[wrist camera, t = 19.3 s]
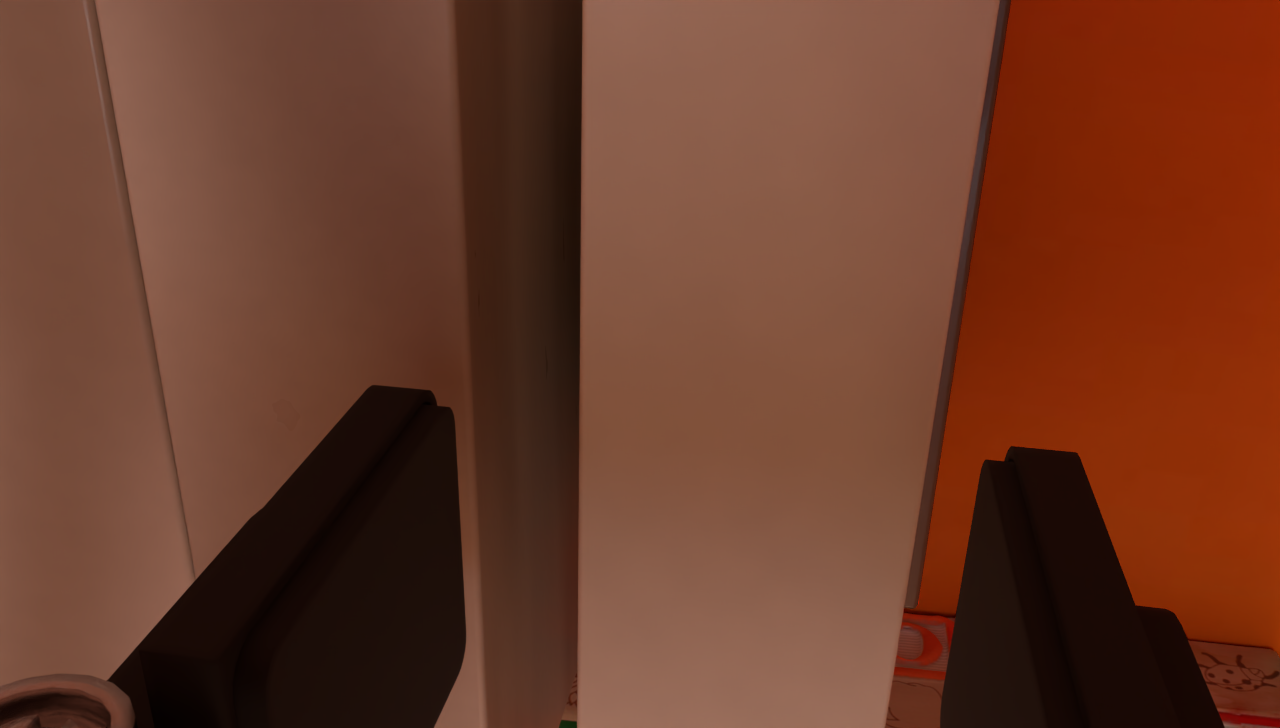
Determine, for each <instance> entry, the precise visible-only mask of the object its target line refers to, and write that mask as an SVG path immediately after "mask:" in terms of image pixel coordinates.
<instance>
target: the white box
mask: <svg viewBox="0 0 1280 728" xmlns="http://www.w3.org/2000/svg"><path fill="white" fill-rule="evenodd" d="M999 3H1000V0H582V123H581V255H580V387H579V519H578V651H577V728H885V726H886V719H887V713H888V707H889V700H890V694H891V688H892V681H893V675H894V669H895V662H896V656H897V650H898V643H899V637H900V631H901V624H902V618H903V612H904V605H905V599H906V593H907V586H908V580H909V574H910V567H911V561H912V555H913V548H914V542H915V536H916V529H917V523H918V517H919V510H920V504H921V498H922V491H923V485H924V478H925V472H926V466H927V459H928V453H929V447H930V440H931V434H932V428H933V421H934V415H935V409H936V402H937V396H938V390H939V383H940V377H941V371H942V364H943V358H944V352H945V345H946V339H947V333H948V326H949V320H950V314H951V307H952V301H953V295H954V288H955V282H956V276H957V269H958V263H959V257H960V250H961V244H962V238H963V231H964V225H965V219H966V212H967V206H968V200H969V193H970V187H971V181H972V174H973V168H974V162H975V155H976V149H977V143H978V136H979V130H980V124H981V117H982V111H983V105H984V98H985V92H986V86H987V79H988V73H989V67H990V60H991V54H992V47H993V41H994V35H995V28H996V22H997V16H998V9H999Z"/></svg>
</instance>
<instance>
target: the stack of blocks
mask: <svg viewBox="0 0 1280 728" xmlns="http://www.w3.org/2000/svg"><path fill="white" fill-rule="evenodd" d="M954 623H955V618H946V617H943V616H939V615H935V616H927V615H914V614H909V613H903V618H902V624H901V631H900V637H899V643H898V650H897V656H896V662H895V669H894V675H893V681H892V688H891V694H890V700H889V707H888V713H887V719H886V726H885V728H940V710H941V700H942V693H943V687H944V681H945V675H946V669H947V664H948V658H949V652H950V646H951V640H952V635H953V629H954ZM1188 642H1189V644H1190V646H1191V649H1192V651H1193V653H1194V656H1195V658H1196V661H1197V663H1198V665H1199V668H1200V670H1201V672H1202V675H1203V677H1204V679H1205V682H1206V684H1207V686H1208V689H1209V691H1210V694H1211V696H1212V698H1213V701H1214V703H1215V705H1216V708H1217V710H1218V712H1219V715H1220V717H1221V719H1222V722H1223V724H1224V727H1225V728H1280V658H1279V656H1278V654H1277V653H1276V652H1275V651H1273V650H1271V649H1265V648H1254V647H1244V646H1234V645H1226V644H1217V643H1207V642H1197V641H1188ZM559 728H577V673H576V676H575V679H574V682H573V685H572V688H571V691H570V694H569V697H568V701H567V704H566V707H565V710H564V713H563V716H562V719H561V722H560V725H559Z"/></svg>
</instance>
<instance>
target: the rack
mask: <svg viewBox="0 0 1280 728" xmlns="http://www.w3.org/2000/svg"><path fill="white" fill-rule="evenodd" d="M1010 4H1011V0H1000V3H999V9H998V16H997V22H996V28H995V35H994V41H993V47H992V54H991V60H990V67H989V73H988V79H987V86H986V92H985V98H984V105H983V111H982V117H981V124H980V130H979V136H978V143H977V149H976V155H975V162H974V168H973V174H972V181H971V187H970V193H969V200H968V206H967V212H966V219H965V225H964V231H963V238H962V244H961V250H960V257H959V263H958V269H957V276H956V282H955V288H954V295H953V301H952V307H951V314H950V320H949V326H948V333H947V339H946V345H945V352H944V358H943V364H942V371H941V377H940V383H939V390H938V396H937V402H936V409H935V415H934V421H933V428H932V434H931V440H930V447H929V453H928V459H927V466H926V472H925V478H924V485H923V491H922V498H921V504H920V510H919V517H918V523H917V529H916V536H915V542H914V548H913V555H912V561H911V567H910V574H909V580H908V586H907V593H906V599H905V605H904V608H911V609H913V608H916V606H917V605H918V600H919V594H920V587H921V581H922V574H923V568H924V561H925V555H926V548H927V542H928V535H929V529H930V522H931V516H932V510H933V503H934V497H935V490H936V484H937V477H938V471H939V464H940V458H941V451H942V445H943V438H944V432H945V425H946V419H947V412H948V406H949V399H950V393H951V387H952V380H953V374H954V367H955V361H956V354H957V348H958V341H959V335H960V328H961V322H962V315H963V309H964V302H965V296H966V289H967V283H968V276H969V270H970V263H971V257H972V251H973V244H974V238H975V231H976V225H977V218H978V212H979V205H980V199H981V192H982V186H983V179H984V173H985V166H986V160H987V153H988V147H989V140H990V134H991V127H992V121H993V115H994V108H995V102H996V95H997V89H998V82H999V76H1000V69H1001V63H1002V56H1003V50H1004V43H1005V37H1006V30H1007V24H1008V17H1009V11H1010ZM581 123H582V0H0V686H2V685H5V684H9V683H12V682H15V681H18V680H21V679H24V678H30V677H37V676H44V675H51V674H58V673H63V674H80V675H91V676H94V677H97V678H100V679H103V680H105V681H107V680H108V679H109V678H110V677H111V675H112V674H113V673H114V672H115V671H116V670H117V669H118V667H119V666H120V665H121V664H122V663H123V662H124V661H125V660H126V658H127V657H128V656H129V655H130V654H131V653H132V652H133V650H134V649H135V648H136V647H137V646H138V645H139V644H140V642H141V641H142V640H143V639H144V638H145V637H146V636H147V635H148V633H149V632H150V631H151V630H152V629H153V628H154V627H155V625H156V624H157V623H158V622H159V621H160V620H161V619H162V618H163V616H164V615H165V614H166V613H167V612H168V611H169V610H170V608H171V607H172V606H173V605H174V604H175V603H176V602H177V600H178V599H179V598H180V597H181V596H182V595H183V594H184V593H185V591H186V590H187V589H188V588H189V587H190V586H191V585H192V583H193V582H194V581H195V580H196V579H197V578H198V577H199V576H200V574H201V573H202V572H203V571H204V570H205V569H206V568H207V566H208V565H209V564H210V563H211V562H212V561H213V560H214V558H215V557H216V556H217V555H218V554H219V553H220V552H221V551H222V549H223V548H224V547H225V546H226V545H227V544H228V543H229V541H230V540H231V539H232V538H233V537H234V536H235V535H236V534H237V532H238V531H239V530H240V529H241V528H242V527H243V526H244V524H245V523H246V522H247V521H248V520H249V519H250V518H251V517H252V516H253V515H254V514H256V513H257V512H258V511H259V510H260V509H262V508H263V507H264V506H265V505H266V504H267V502H268V501H269V500H270V499H271V498H272V497H273V496H274V494H275V493H276V492H277V491H278V490H279V489H280V488H281V486H282V485H283V484H284V483H285V482H286V481H287V480H288V478H289V477H290V476H291V475H292V474H293V473H294V472H295V470H296V469H297V468H298V467H299V466H300V465H301V464H302V462H303V461H304V460H305V459H306V458H307V457H308V456H309V454H310V453H311V452H312V451H313V450H314V449H315V448H316V446H317V445H318V444H319V443H320V442H321V441H322V440H323V439H324V437H325V436H326V435H327V434H328V433H329V432H330V431H331V429H332V428H333V427H334V426H335V425H336V424H337V423H338V421H339V420H340V419H341V418H342V417H343V416H344V415H345V413H346V412H347V411H348V410H349V409H350V408H351V407H352V405H353V404H354V403H355V402H356V401H357V400H358V399H359V397H360V396H361V395H362V394H363V393H364V392H365V391H366V389H367V388H369V387H370V386H371V385H381V386H392V387H402V388H413V389H423V390H431V391H432V393H433V394H434V395H435V398H436V401H437V406H445V407H450V408H451V409H452V411H453V414H454V419H455V430H456V449H457V467H458V486H459V505H460V523H461V542H462V561H463V579H464V598H465V617H466V648H465V654H464V660H463V663H462V667H461V670H460V673H459V675H458V677H457V679H456V682H455V684H454V686H453V688H452V690H451V692H450V694H449V697H448V699H447V701H446V703H445V705H444V707H443V710H442V712H441V714H440V716H439V718H438V720H437V722H436V725H435V727H434V728H559V725H560V722H561V719H562V716H563V713H564V710H565V707H566V704H567V701H568V697H569V694H570V691H571V688H572V685H573V682H574V679H575V676H576V673H577V651H578V519H579V387H580V255H581Z"/></svg>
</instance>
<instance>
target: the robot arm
mask: <svg viewBox="0 0 1280 728" xmlns="http://www.w3.org/2000/svg"><path fill="white" fill-rule="evenodd" d="M465 648H466V617H465V598H464V579H463V561H462V542H461V523H460V505H459V486H458V467H457V449H456V430H455V419H454V414H453V411H452V409H451V408H450V407H445V406H437V401H436V398H435V395H434V394H433V393H432V391H431V390H423V389H413V388H402V387H392V386H381V385H371V386H370V387H369V388H367V389H366V391H365V392H364V393H363V394H362V395H361V396H360V397H359V399H358V400H357V401H356V402H355V403H354V404H353V405H352V407H351V408H350V409H349V410H348V411H347V412H346V413H345V415H344V416H343V417H342V418H341V419H340V420H339V421H338V423H337V424H336V425H335V426H334V427H333V428H332V429H331V431H330V432H329V433H328V434H327V435H326V436H325V437H324V439H323V440H322V441H321V442H320V443H319V444H318V445H317V446H316V448H315V449H314V450H313V451H312V452H311V453H310V454H309V456H308V457H307V458H306V459H305V460H304V461H303V462H302V464H301V465H300V466H299V467H298V468H297V469H296V470H295V472H294V473H293V474H292V475H291V476H290V477H289V478H288V480H287V481H286V482H285V483H284V484H283V485H282V486H281V488H280V489H279V490H278V491H277V492H276V493H275V494H274V496H273V497H272V498H271V499H270V500H269V501H268V502H267V504H266V505H265V506H264V507H263V508H262V509H260V510H259V511H258V512H257V513H256V514H254V515H253V516H252V517H251V518H250V519H249V520H248V521H247V522H246V523H245V524H244V526H243V527H242V528H241V529H240V530H239V531H238V532H237V534H236V535H235V536H234V537H233V538H232V539H231V540H230V541H229V543H228V544H227V545H226V546H225V547H224V548H223V549H222V551H221V552H220V553H219V554H218V555H217V556H216V557H215V558H214V560H213V561H212V562H211V563H210V564H209V565H208V566H207V568H206V569H205V570H204V571H203V572H202V573H201V574H200V576H199V577H198V578H197V579H196V580H195V581H194V582H193V583H192V585H191V586H190V587H189V588H188V589H187V590H186V591H185V593H184V594H183V595H182V596H181V597H180V598H179V599H178V600H177V602H176V603H175V604H174V605H173V606H172V607H171V608H170V610H169V611H168V612H167V613H166V614H165V615H164V616H163V618H162V619H161V620H160V621H159V622H158V623H157V624H156V625H155V627H154V628H153V629H152V630H151V631H150V632H149V633H148V635H147V636H146V637H145V638H144V639H143V640H142V641H141V642H140V644H139V645H138V646H137V647H136V648H135V649H134V650H133V652H132V653H131V654H130V655H129V656H128V657H127V658H126V660H125V661H124V662H123V663H122V664H121V665H120V666H119V667H118V669H117V670H116V671H115V672H114V673H113V674H112V675H111V677H110V678H109V679H108V680H107V681H105V680H103V679H100V678H97V677H94V676H91V675H80V674H63V673H58V674H51V675H44V676H37V677H30V678H24V679H21V680H18V681H15V682H12V683H9V684H5V685H2V686H0V728H434V727H435V725H436V722H437V720H438V718H439V716H440V714H441V712H442V710H443V707H444V705H445V703H446V701H447V699H448V697H449V694H450V692H451V690H452V688H453V686H454V684H455V682H456V679H457V677H458V675H459V673H460V670H461V667H462V663H463V660H464V654H465ZM940 728H1225V727H1224V724H1223V722H1222V719H1221V717H1220V715H1219V712H1218V710H1217V708H1216V705H1215V703H1214V701H1213V698H1212V696H1211V694H1210V691H1209V689H1208V686H1207V684H1206V682H1205V679H1204V677H1203V675H1202V672H1201V670H1200V668H1199V665H1198V663H1197V661H1196V658H1195V656H1194V653H1193V651H1192V649H1191V646H1190V644H1189V642H1188V639H1187V637H1186V635H1185V632H1184V630H1183V628H1182V625H1181V624H1180V622H1179V620H1178V619H1177V617H1176V615H1175V614H1174V613H1173V612H1171V611H1169V610H1167V609H1161V608H1152V607H1143V606H1135V603H1134V601H1133V598H1132V595H1131V593H1130V590H1129V587H1128V585H1127V582H1126V579H1125V577H1124V574H1123V571H1122V569H1121V566H1120V563H1119V561H1118V558H1117V555H1116V553H1115V550H1114V547H1113V545H1112V542H1111V539H1110V537H1109V534H1108V531H1107V529H1106V526H1105V523H1104V521H1103V518H1102V515H1101V513H1100V510H1099V507H1098V505H1097V502H1096V499H1095V497H1094V494H1093V491H1092V489H1091V486H1090V483H1089V481H1088V478H1087V475H1086V473H1085V470H1084V467H1083V465H1082V462H1081V459H1080V457H1079V456H1078V454H1077V453H1075V452H1066V451H1055V450H1045V449H1035V448H1024V447H1014V446H1011V447H1010V448H1009V450H1008V452H1007V454H1006V457H1005V461H993V460H985V461H984V463H983V466H982V469H981V474H980V478H979V484H978V490H977V496H976V502H975V507H974V513H973V519H972V525H971V531H970V536H969V542H968V548H967V554H966V559H965V565H964V571H963V577H962V583H961V588H960V594H959V600H958V606H957V611H956V617H955V623H954V629H953V635H952V640H951V646H950V652H949V658H948V664H947V669H946V675H945V681H944V687H943V693H942V700H941V710H940Z"/></svg>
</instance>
